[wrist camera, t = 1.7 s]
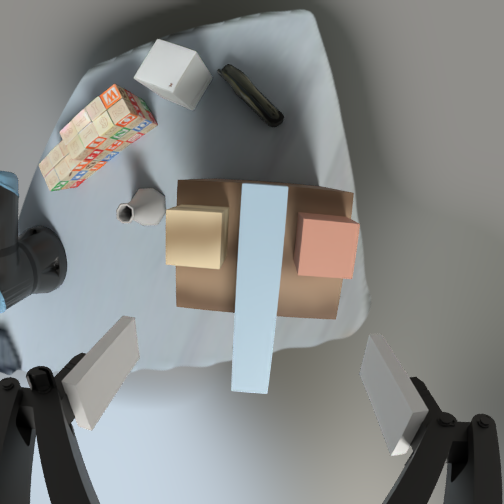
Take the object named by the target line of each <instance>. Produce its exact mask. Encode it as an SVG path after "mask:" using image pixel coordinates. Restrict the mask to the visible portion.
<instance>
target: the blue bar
mask: <svg viewBox="0 0 504 504" xmlns="http://www.w3.org/2000/svg"><path fill="white" fill-rule="evenodd" d="M287 199H288V186H283V185H271V184H257V183H242V194H241V211H240V227H239V244H238V262H237V280H236V300H235V319H234V340H233V362H232V386H231V387H232V388H231V391H239V392H250V393H263V394H267V392H268V384H269V376H270V368H271V359H272V352H273V343H274V334H275V325H276V316H277V307H278V297H279V288H280V278H281V267H282V257H283V246H284V235H285V223H286V211H287Z"/></svg>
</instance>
